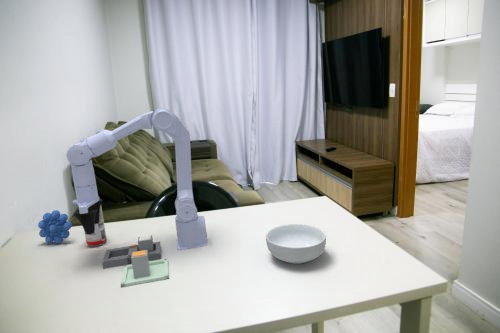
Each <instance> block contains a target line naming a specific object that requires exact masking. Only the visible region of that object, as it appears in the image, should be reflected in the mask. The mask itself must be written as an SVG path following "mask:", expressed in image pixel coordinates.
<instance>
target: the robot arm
mask: <svg viewBox="0 0 500 333" xmlns="http://www.w3.org/2000/svg"><path fill="white" fill-rule="evenodd" d="M153 127H154V128H155V129H156V130H158V131H160V132H162V133H164V134H167V135H168V136H169V137H171V138H172V139H173V140H174V147H175V148H174V150H175V151H174V153H175V168H176V187H177V188H176V190H177V192H176V193H177V195H176V199H175V201H174V207H175V211H176V212H175V214H176V216H175V217H174V219H175V228H176V231H175V232H176V250H177V251H183V250H189V249H194V248H195V249H196V248H201V247H206V246H208V233H207V226H206V225H207V224H206V219H205V216H204V215H199V214H198V208H197V206H196V204H195V200H194V193H193V183H192V182H193V178H192V177H193V176H192V155H191V153H192V151H191V134H190V131H189V130H188V128H187V127H186V126H185V125H184V123H183V122H182V120H180V118H179V117H178V115H177V114H175V113H174V112H173V111H171V110H170V109H168V108H166V107H159V108H157V109H155V110H154V111H153V110H151V111H148V112H145V113H143V114H139V115H138V116H137V117H134V118H133V119H131V120H129V121H127V122H125V123H124V124H122V125H121V126H119V127H117V128H115V129H113V130H108V129H102V130H101V129H98V130H96V131H95V134H93V135H91V136H89V137H88V138H82V139H80V140H79V141H80V142H78V143H76V144H73V145H72V146H71V147H69V148H68V150H67V151H66V158H67V161H68V162H69V163H70V167H71V176H72V181H73V185H74V191H75V196H76V199H74V200H72V204H73V205H77V207H78V210H76V211H75V212H74V217H75V218H76V219H77V220H78V221H79V223H80V224H81V226H82V228H83V230H84V231H85V232H84V234H85V233H86V234H93V233H94V231H95V224H99V215H100V206H101V207H102V202H103V198H100V196H99V193H98V186H97V182H96V181H97V180H96V174H95V169H94V166H93V160H92V158H97V157H99V156H101V155H103V154H105V153H106V152H108V151H111V150H112V149H114V148H116V147H117V142H118V141H120V140H121V139H123V138H125V137H126V138H127V136H130V135H131V134H133V133H134V134H135V133H137V132H138V131H140V130H143V129H144V130H152V129H153Z"/></svg>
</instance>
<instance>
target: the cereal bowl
mask: <svg viewBox="0 0 500 333" xmlns="http://www.w3.org/2000/svg"><path fill="white" fill-rule="evenodd" d="M265 242H266V246H267V249H268V251H269V253H270V254H271V255H272V256H274V257H275V258H276V259H278V260H280V261H283V262H286V263H287V264H288V263H289V264H292V265H297V264H298V265H299V264H305V263H308V262H310V261H313V260H315V259H317V258H319V257H320V255H322V253H323V252H324V250H325V249H326V246H327V245H326V244H327V243H326V242H327V235H326V233H325V232H324V231H323V230H322V229H320V228H319V227H316V226H314V225H309V224H301V223H292V224H291V223H290V224H284V225H279V226H276V227H274V228H271V229H270V230H268V231H267V233H266V234H265Z"/></svg>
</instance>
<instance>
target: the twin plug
mask: <svg viewBox="0 0 500 333" xmlns="http://www.w3.org/2000/svg"><path fill="white" fill-rule="evenodd" d="M153 242H154V239H153V234H150V235H143V236H138V238H137V245H138V247H139V251H143V250H147V251H148V252H153V251H154V246H153Z"/></svg>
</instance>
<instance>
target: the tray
mask: <svg viewBox="0 0 500 333" xmlns="http://www.w3.org/2000/svg"><path fill="white" fill-rule="evenodd" d="M123 266H124V267H123V271H122V276H121V280H120V288H126V287H130V286H137V285H142V284H148V283H153V282H154V283H155V282H159V281H165V280H169V279H170V275H169V259H168V258H161V259H159V260H153V261H149V266H150V276H146V277H141V278H135V279H134V274H133V267H132V264H129V265H123Z"/></svg>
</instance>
